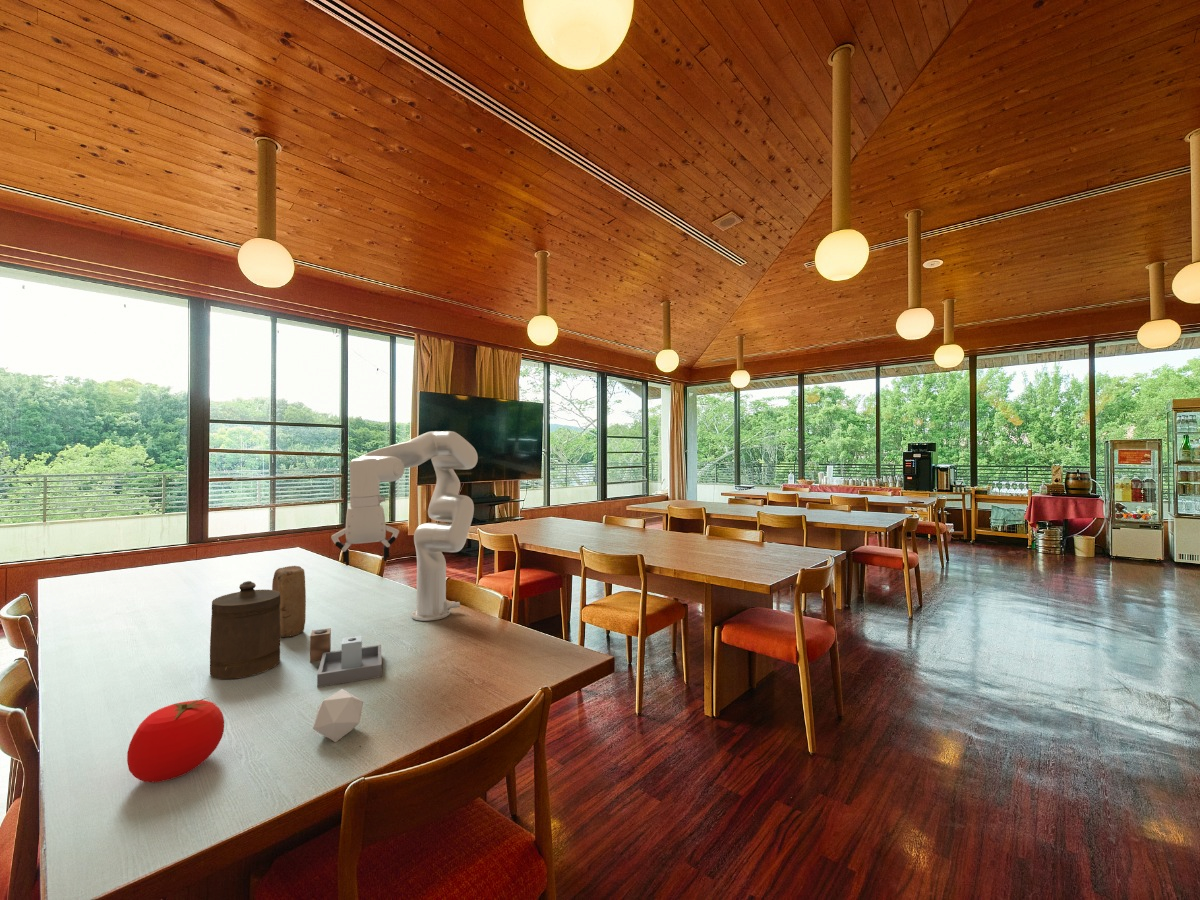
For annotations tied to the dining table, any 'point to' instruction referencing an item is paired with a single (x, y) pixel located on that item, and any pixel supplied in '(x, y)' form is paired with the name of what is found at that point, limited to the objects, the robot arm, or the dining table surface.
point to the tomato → (175, 740)
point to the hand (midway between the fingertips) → (366, 562)
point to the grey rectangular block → (351, 652)
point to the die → (338, 715)
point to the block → (291, 599)
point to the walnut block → (319, 643)
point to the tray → (334, 675)
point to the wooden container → (245, 632)
